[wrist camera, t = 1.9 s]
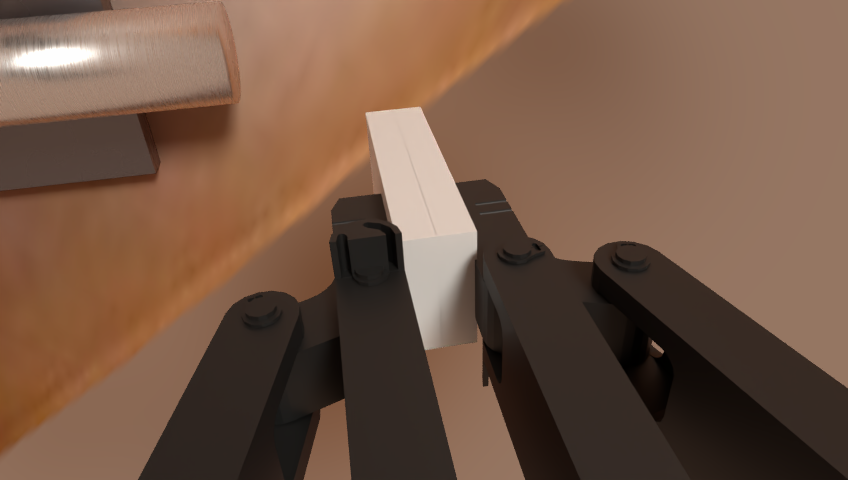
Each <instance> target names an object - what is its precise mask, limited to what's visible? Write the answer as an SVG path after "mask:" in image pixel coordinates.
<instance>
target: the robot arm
mask: <svg viewBox="0 0 848 480" xmlns="http://www.w3.org/2000/svg"><path fill="white" fill-rule="evenodd" d="M366 122H367V132H368V141H369V151H370V161H371V170H372V179H373V189H374V194H373V195H365V196H357V197H348V198H341V199H339V200H338V201H337V203H336V204H335V206H334V207H333V209H332V210H331V215H332V227H333V234H332V235H331V238H330V242H329V244H330V251H331V257H332V263H333V270H334V276H335V279H334V281H333V282H332V284H331V285H330V286H329V287H328V288H327V289H326V290H325V291H323V292H322V293H320V294H319V295H317V296H314V297H312V298H310V299H308V300H305V301H302V302H299V303H298V302H297V300H296V299H295V298H294V297H292V296H291V295H288V294H287V293H284V292H276V291H268V292H259V293H256V294H253V295H250V296H247V297H244V298H243V299H241V300H240V301H238V302H237V303H235V304H233V305H232V307H231V308H230V309H229V310H228V311H227V313H226V314H225V316H224V318H223V320H222V321H221V323H220V325H219V327H218V329H217V331H216V333H215V335H214V337H213V338H212V340H211V342H210V344H209V346H208V348H207V350H206V352H205V354H204V356H203V358H202V359H201V361H200V363H199V365H198V367H197V369H196V371H195V373H194V375H193V377H192V378H191V380H190V382H189V384H188V386H187V388H186V390H185V392H184V393H183V395H182V397H181V399H180V401H179V403H178V405H177V407H176V409H175V411H174V413H173V414H172V417H171V418H170V420H169V422H168V424H167V426H166V428H165V430H164V431H163V433H162V435H161V437H160V439H159V441H158V443H157V445H156V447H155V449H154V451H153V453H152V454H151V456H150V458H149V460H148V462H147V464H146V466H145V468H144V469H143V471H142V473H141V476H140V477H139V479H138V480H303V479H304V475H305V471H306V467H307V464H308V461H309V457H310V453H311V449H312V446H313V442H314V438H315V434H316V431H317V427H318V424H319V420H320V409H321V408H323V407H326V406H328V405H331V404H333V403H335V402H338V401H340V400H342V399H344V398H345V407H346V419H347V431H348V444H349V455H350V467H351V480H457V477H456V473H455V469H454V465H453V461H452V457H451V453H450V449H449V445H448V442H447V437H446V433H445V429H444V425H443V422H442V417H441V413H440V409H439V405H438V401H437V397H436V393H435V389H434V385H433V381H432V377H431V373H430V369H429V365H428V361H427V357H426V353H425V350H428V349H435V348H442V347H448V346H455V345H461V344H468V343H475V342H477V324H478V326H479V329H480V332H481V335H482V337H483V375H482V378H483V386H488V377H490V380H491V383H492V386H493V389H494V392H495V394H496V397H497V400H498V403H499V406H500V409H501V412H502V415H503V417H504V420H505V423H506V426H507V429H508V432H509V434H510V437H511V440H512V443H513V446H514V449H515V451H516V454H517V457H518V460H519V463H520V466H521V469H522V471H523V474H524V477H525V480H848V388H846V387H845V386H844V385H842V384H841V383H840V382H838V381H837V380H835V379H834V378H833V377H831V376H830V375H828V374H827V373H826V372H824V371H823V370H822V369H820V368H819V367H817V366H816V365H815V364H813V363H812V362H810V361H809V360H808V359H806V358H805V357H803V356H802V355H801V354H799V353H798V352H797V351H795V350H794V349H793V348H791V347H790V346H788V345H787V344H786V343H784V342H783V341H781V340H780V339H779V338H777V337H776V336H775V335H773V334H772V333H770V332H769V331H768V330H766V329H765V328H763V327H762V326H761V325H759V324H758V323H757V322H755V321H754V320H752V319H751V318H750V317H748V316H747V315H745V314H744V313H743V312H741V311H740V310H738V309H737V308H736V307H734V306H733V305H732V304H730V303H729V302H727V301H726V300H725V299H723V298H722V297H721V296H719V295H718V294H716V293H715V292H714V291H712V290H711V289H710V288H708V287H707V286H705V285H704V284H703V283H701V282H700V281H699V280H697V279H696V278H694V277H693V276H691V275H690V274H689V273H687V272H686V271H685V270H683V269H682V268H680V267H679V266H678V265H676V264H675V263H674V262H672V261H671V260H670V259H668V258H667V257H665V256H664V255H663V254H661V253H660V252H658V251H657V250H655V249H653V248H651V247H649V246H647V245H643V244H639V243H636V242H629V241H628V242H626V241H619V242H613V243H608V244H605V245H604V246H602V247H600V248H598V250H597V251H596V252H595V254H594V259H593V262H579V261H568V260H561V259H557V258H555V257H554V256H553V254H552V252H551V251H550V249H549V248H548V247H547V246H546V245H545V244H544V243H542V242H540V241H538V240H536V239H533V238H529V237H528V236H527V235H526V233H525V231H524V230H523V228H522V226H521V224H520V222H519V221H518V219H517V217H516V216H515V214H514V212H513V211H512V210H511V207H510V205H509V204H508V202H506V198H505V197H504V195H503V193H502V192H501V190H500V188H498V187H497V186H495V185H494V184H492V183H490V182H489V181H487V180H486V179H484V180H476V181H468V182H459V183H455V182H454V180H453V178H452V175H451V173H450V171H449V169H448V167H447V164H446V163H445V160H444V158H443V156H442V154H441V151H440V149H439V147H438V145H437V143H436V140H435V138H434V136H433V134H432V132H431V130H430V127H429V125H428V123H427V121H426V119H425V116H424V114H423V112H422V110H421V108H420V107H414V108H405V109H395V110H386V111H376V112H367V113H366ZM652 340H653V341H654V342H655V343H656V344H657V345H659V346H660V347H661V348H662V349H663V350H664V353H663V354H662V353H661V352H659V351H658V350H657V349H655V348H654V347H653V346H652V345H651V344H652Z"/></svg>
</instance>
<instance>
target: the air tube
mask: <svg viewBox="0 0 848 480" xmlns="http://www.w3.org/2000/svg"><path fill="white" fill-rule="evenodd" d="M240 94H241V89H240V75H239V66H238V60H237V53H236V48H235V43H234V38H233V34H232V30H231V26H230V22H229V19H228V16H227V13H226V10H225V8H224V5H223V4H222V2H221V1H216V2H204V3H192V4H180V5H168V6H156V7H144V8H132V9H120V10H108V11H96V12H84V13H72V14H60V15H48V16H36V17H24V18H12V19H0V127H9V126H19V125H29V124H39V123H49V122H59V121H68V120H78V119H88V118H98V117H108V116H117V115H127V114H137V113H147V112H157V111H166V110H176V109H186V108H196V107H206V106H215V105H225V104H235V103H239V101H240Z"/></svg>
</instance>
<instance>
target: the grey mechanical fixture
mask: <svg viewBox="0 0 848 480" xmlns="http://www.w3.org/2000/svg"><path fill="white" fill-rule="evenodd" d="M108 10H113V9H112V6H111V3H110V0H0V19H12V18H24V17H36V16H48V15H60V14H72V13H84V12H96V11H108ZM159 165H160V160H159V156H158V153H157V150H156V147H155V144H154V140H153V137H152V134H151V131H150V128H149V124H148V121H147V118H146V115H145V113H137V114H127V115H117V116H108V117H98V118H88V119H78V120H68V121H59V122H49V123H39V124H29V125H19V126H9V127H0V191H3V190H12V189H21V188H30V187H39V186H48V185H56V184H65V183H74V182H83V181H92V180H101V179H110V178H118V177H127V176H136V175H145V174H154V173H156V172H157V169H158V167H159Z"/></svg>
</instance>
